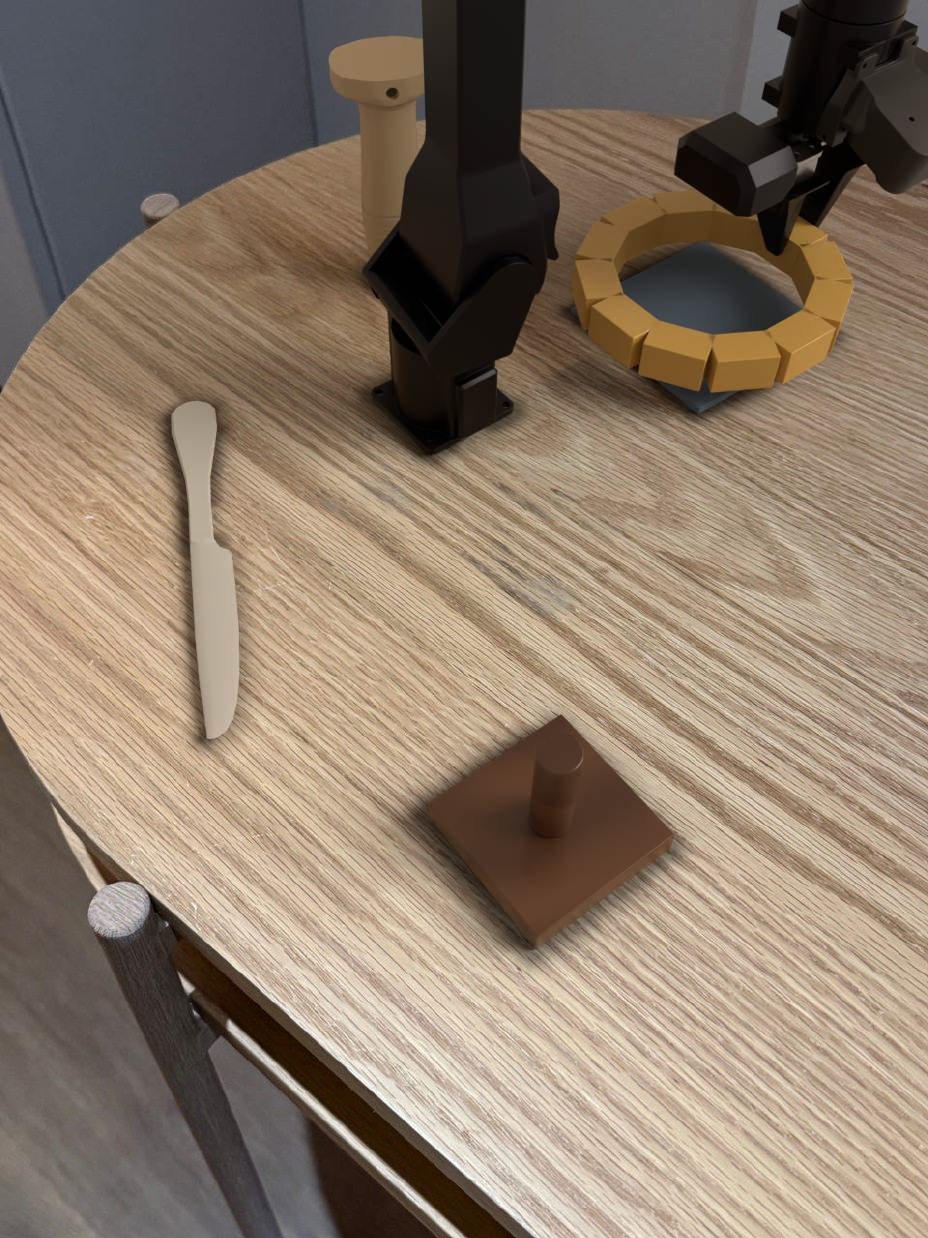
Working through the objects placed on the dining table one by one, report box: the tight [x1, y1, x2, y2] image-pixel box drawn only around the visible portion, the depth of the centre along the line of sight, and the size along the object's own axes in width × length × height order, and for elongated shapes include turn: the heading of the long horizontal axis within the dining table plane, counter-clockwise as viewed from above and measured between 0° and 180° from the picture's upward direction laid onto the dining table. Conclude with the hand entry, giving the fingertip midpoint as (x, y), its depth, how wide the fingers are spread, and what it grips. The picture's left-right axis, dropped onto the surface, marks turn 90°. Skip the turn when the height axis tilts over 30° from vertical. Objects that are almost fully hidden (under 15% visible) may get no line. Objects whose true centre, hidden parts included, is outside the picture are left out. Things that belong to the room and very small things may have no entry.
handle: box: [328, 35, 425, 258], centre depth 72 cm, size 5×6×15 cm
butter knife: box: [171, 400, 240, 740], centre depth 63 cm, size 1×24×3 cm
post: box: [427, 714, 675, 950], centre depth 50 cm, size 8×8×8 cm
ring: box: [571, 189, 855, 393], centre depth 72 cm, size 17×17×2 cm
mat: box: [570, 241, 803, 415], centre depth 75 cm, size 12×12×1 cm
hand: (787, 244), depth 75 cm, fingers closed on ring, 2 cm apart
